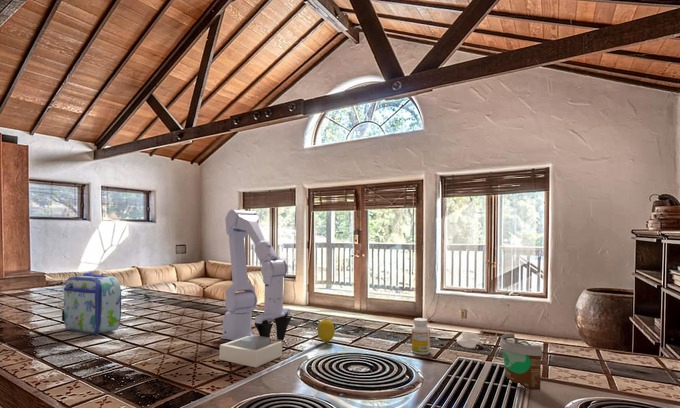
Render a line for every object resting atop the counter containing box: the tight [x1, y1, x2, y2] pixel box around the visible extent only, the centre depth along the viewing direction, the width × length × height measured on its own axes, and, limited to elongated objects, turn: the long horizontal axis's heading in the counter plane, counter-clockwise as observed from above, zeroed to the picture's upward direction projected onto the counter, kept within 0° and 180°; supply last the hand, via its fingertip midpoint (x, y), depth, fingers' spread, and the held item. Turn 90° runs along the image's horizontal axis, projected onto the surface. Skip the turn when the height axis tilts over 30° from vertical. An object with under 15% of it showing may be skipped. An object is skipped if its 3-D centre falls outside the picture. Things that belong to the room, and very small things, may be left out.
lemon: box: [317, 317, 336, 344], centre depth 124 cm, size 6×6×8 cm
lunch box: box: [61, 272, 122, 335], centre depth 141 cm, size 26×11×21 cm, turn 58°
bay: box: [219, 336, 283, 368], centre depth 109 cm, size 14×11×4 cm
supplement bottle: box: [411, 317, 431, 356], centre depth 114 cm, size 5×5×10 cm
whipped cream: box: [456, 331, 483, 350], centre depth 121 cm, size 8×7×5 cm
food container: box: [499, 332, 543, 391], centre depth 91 cm, size 12×6×10 cm, turn 5°
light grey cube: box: [240, 334, 271, 350], centre depth 110 cm, size 6×6×5 cm
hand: (273, 342), depth 117 cm, fingers open, 7 cm apart
